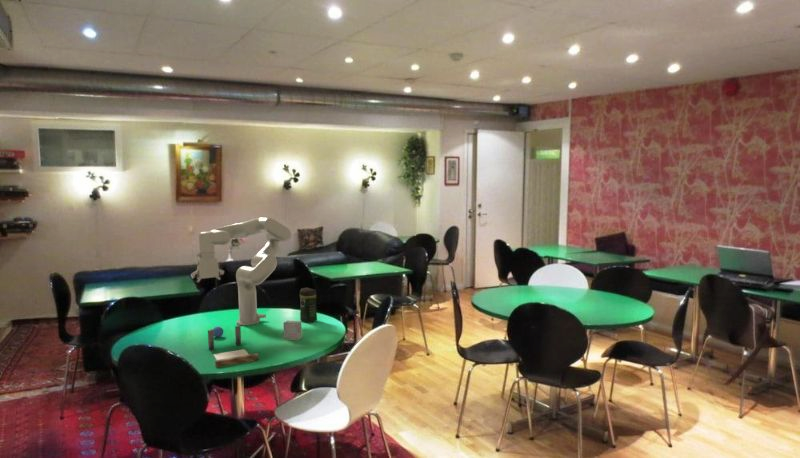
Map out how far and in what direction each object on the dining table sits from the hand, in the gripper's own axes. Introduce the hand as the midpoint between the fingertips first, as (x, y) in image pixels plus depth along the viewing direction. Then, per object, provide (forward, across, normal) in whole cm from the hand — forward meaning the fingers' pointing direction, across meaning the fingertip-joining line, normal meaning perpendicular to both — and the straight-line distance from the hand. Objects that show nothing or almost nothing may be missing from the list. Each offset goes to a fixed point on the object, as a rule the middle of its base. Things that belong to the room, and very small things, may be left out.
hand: (208, 288), depth 284 cm
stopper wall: (+23, -10, -55) cm, 61 cm away
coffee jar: (+22, +50, -17) cm, 57 cm away
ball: (+20, 0, -12) cm, 24 cm away
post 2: (+23, +2, -31) cm, 39 cm away
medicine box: (+23, +26, -40) cm, 53 cm away
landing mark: (+23, -7, -45) cm, 52 cm away
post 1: (+23, -10, -28) cm, 38 cm away
